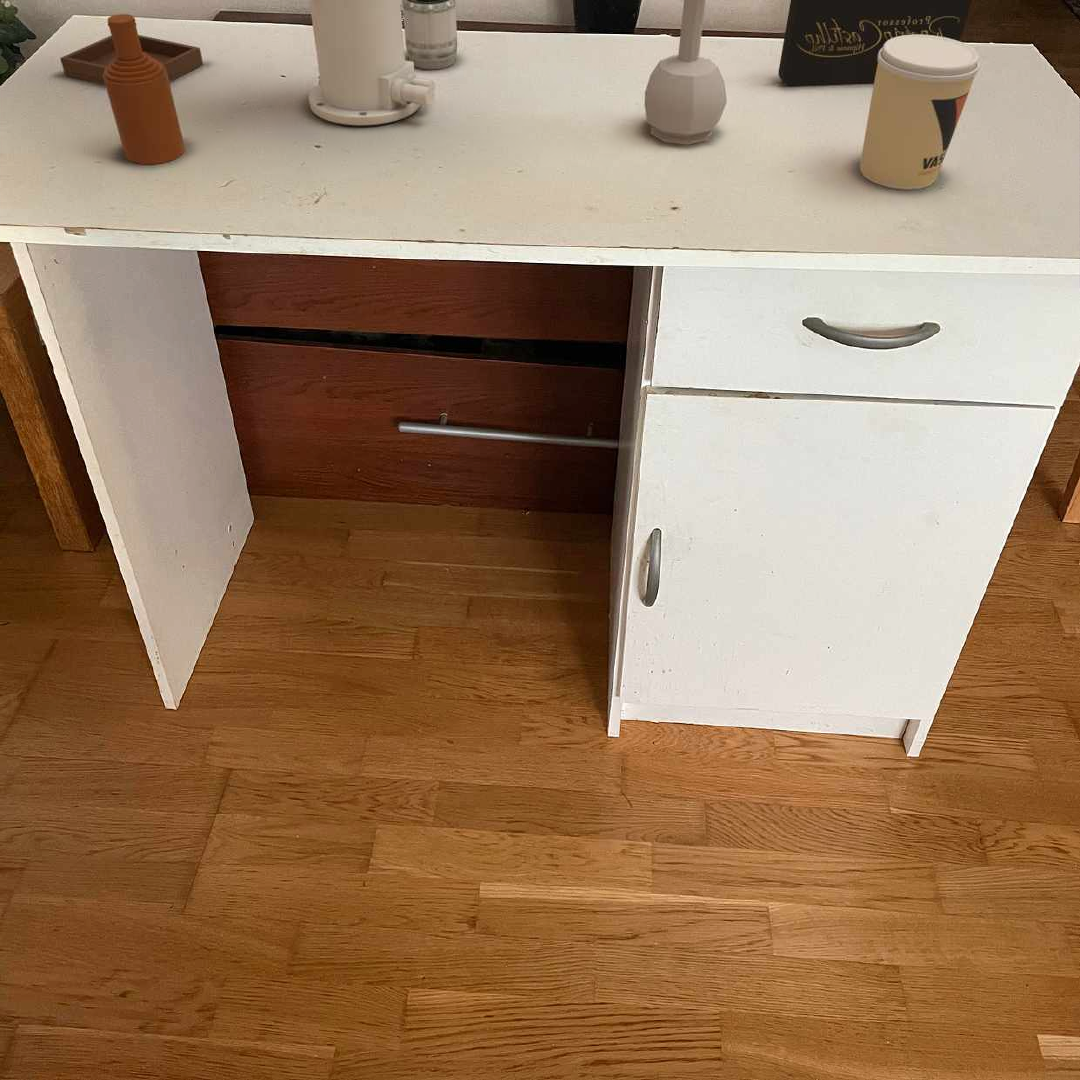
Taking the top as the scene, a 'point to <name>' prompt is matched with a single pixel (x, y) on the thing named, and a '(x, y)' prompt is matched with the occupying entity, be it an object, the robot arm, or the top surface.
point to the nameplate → (857, 35)
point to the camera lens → (430, 32)
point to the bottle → (141, 98)
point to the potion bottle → (685, 87)
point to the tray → (170, 54)
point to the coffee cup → (915, 108)
